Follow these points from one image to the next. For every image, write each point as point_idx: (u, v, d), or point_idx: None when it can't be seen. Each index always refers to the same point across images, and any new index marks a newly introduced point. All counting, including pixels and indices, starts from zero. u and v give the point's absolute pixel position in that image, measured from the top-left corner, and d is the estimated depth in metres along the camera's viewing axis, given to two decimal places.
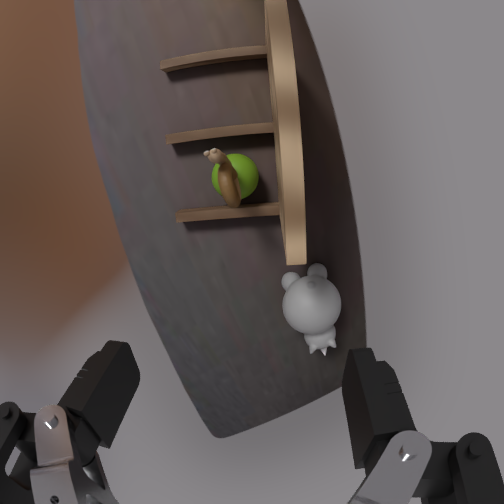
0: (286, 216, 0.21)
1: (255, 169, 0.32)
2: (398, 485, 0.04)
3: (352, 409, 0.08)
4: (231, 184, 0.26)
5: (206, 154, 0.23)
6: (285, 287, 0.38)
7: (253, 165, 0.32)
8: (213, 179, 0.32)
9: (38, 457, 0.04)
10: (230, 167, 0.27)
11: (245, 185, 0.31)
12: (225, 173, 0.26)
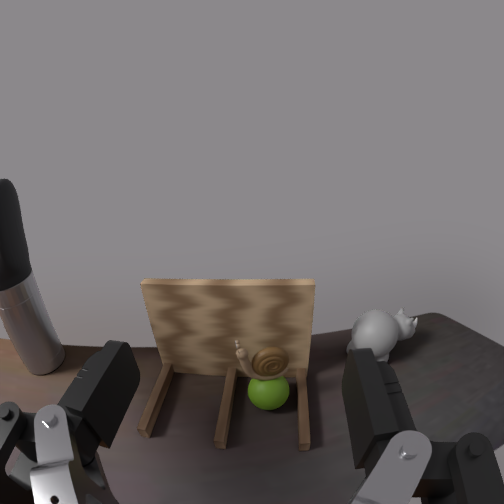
0: (282, 284, 0.34)
1: None
2: (398, 485, 0.04)
3: (352, 409, 0.08)
4: None
5: (238, 344, 0.31)
6: None
7: None
8: (267, 396, 0.32)
9: (38, 457, 0.04)
10: None
11: None
12: (258, 352, 0.32)
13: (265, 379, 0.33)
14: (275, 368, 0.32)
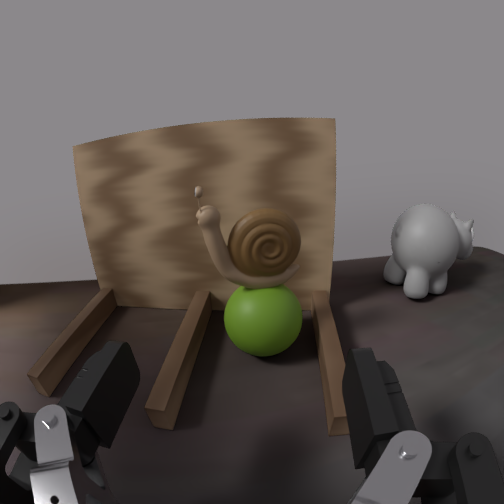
0: (282, 118, 0.19)
1: None
2: (398, 485, 0.04)
3: (352, 409, 0.08)
4: None
5: (199, 188, 0.16)
6: (422, 276, 0.23)
7: None
8: (259, 319, 0.17)
9: (38, 457, 0.04)
10: None
11: None
12: (240, 218, 0.17)
13: (256, 284, 0.18)
14: (274, 255, 0.17)
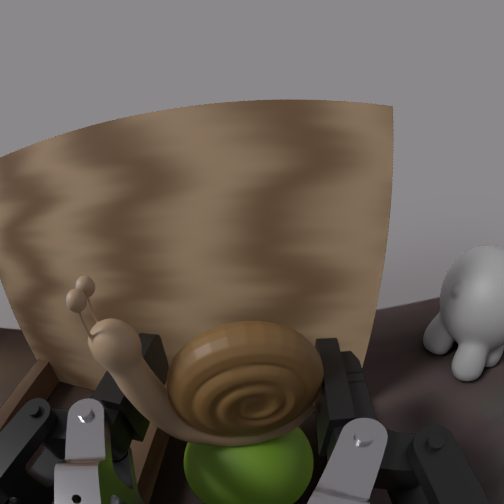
0: (290, 100, 0.09)
1: None
2: (358, 472, 0.05)
3: (317, 397, 0.08)
4: None
5: (75, 291, 0.05)
6: (481, 354, 0.13)
7: None
8: (238, 498, 0.07)
9: (66, 451, 0.05)
10: None
11: None
12: None
13: (231, 445, 0.08)
14: (266, 413, 0.07)
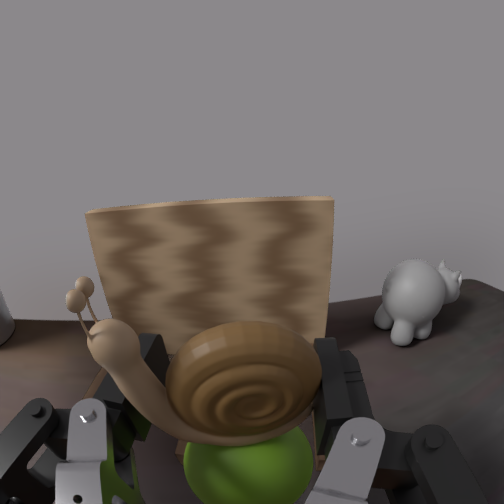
0: (285, 200, 0.22)
1: None
2: (356, 472, 0.05)
3: None
4: None
5: (74, 292, 0.06)
6: (407, 327, 0.26)
7: None
8: (237, 498, 0.07)
9: (68, 451, 0.05)
10: None
11: None
12: (185, 343, 0.07)
13: (230, 444, 0.08)
14: (265, 413, 0.07)
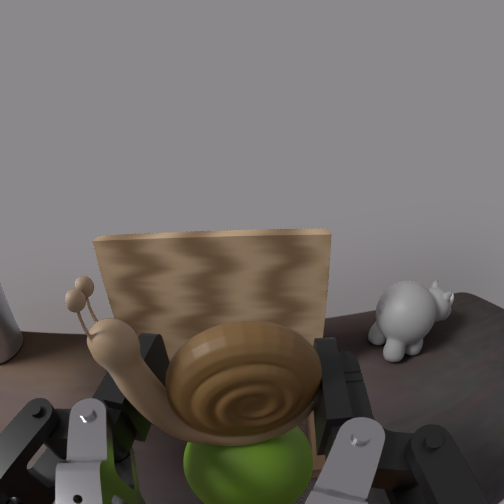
0: (284, 234, 0.24)
1: None
2: (356, 472, 0.05)
3: None
4: None
5: (74, 291, 0.06)
6: (399, 345, 0.28)
7: None
8: (237, 498, 0.07)
9: (68, 451, 0.05)
10: None
11: None
12: (185, 343, 0.07)
13: (230, 444, 0.08)
14: (265, 413, 0.07)
